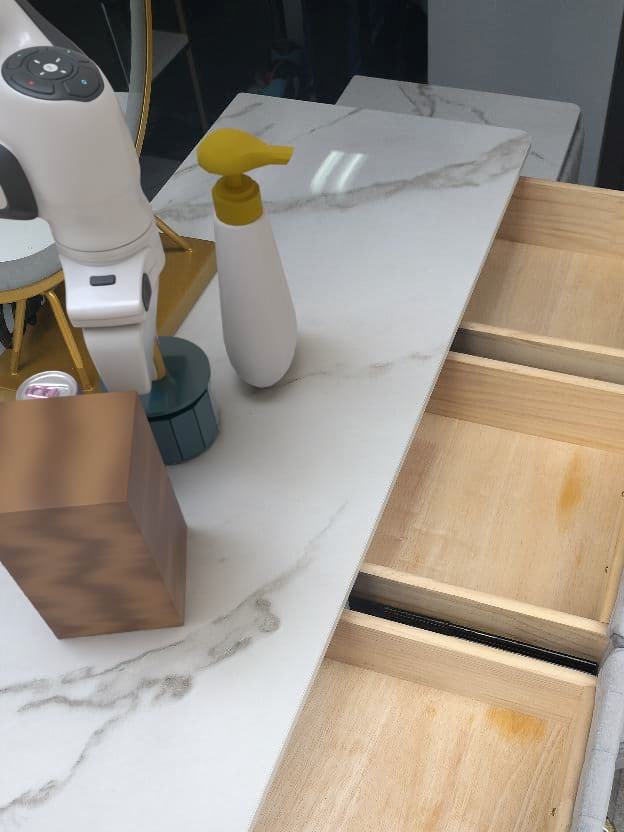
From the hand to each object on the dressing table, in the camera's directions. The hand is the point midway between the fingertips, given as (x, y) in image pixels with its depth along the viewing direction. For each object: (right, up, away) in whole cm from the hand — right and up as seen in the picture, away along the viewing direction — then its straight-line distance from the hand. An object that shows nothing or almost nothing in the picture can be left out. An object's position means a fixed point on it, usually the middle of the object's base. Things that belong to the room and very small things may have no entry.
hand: (150, 363), depth 85 cm
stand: (-2, -22, -3) cm, 23 cm away
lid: (0, -1, +2) cm, 2 cm away
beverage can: (-7, -13, +3) cm, 15 cm away
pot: (0, -6, +8) cm, 10 cm away
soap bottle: (+11, +3, +14) cm, 18 cm away
